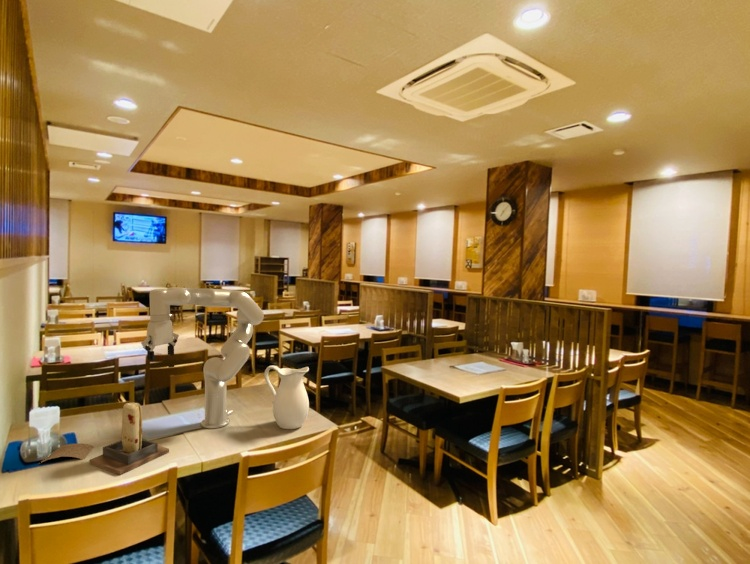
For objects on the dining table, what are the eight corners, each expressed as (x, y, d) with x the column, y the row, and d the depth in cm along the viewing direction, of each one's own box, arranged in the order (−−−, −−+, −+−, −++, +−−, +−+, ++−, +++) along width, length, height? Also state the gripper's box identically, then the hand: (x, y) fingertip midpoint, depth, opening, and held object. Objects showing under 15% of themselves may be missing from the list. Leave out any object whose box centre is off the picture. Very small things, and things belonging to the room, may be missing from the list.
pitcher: (315, 422, 198) (316, 366, 197) (294, 435, 183) (295, 374, 182) (276, 413, 208) (277, 360, 207) (253, 424, 193) (254, 367, 192)
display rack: (139, 442, 171) (139, 431, 171) (169, 452, 163) (169, 440, 163) (89, 463, 153) (89, 450, 152) (120, 475, 145) (120, 461, 145)
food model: (118, 451, 159) (118, 401, 158) (137, 446, 164) (137, 398, 163) (125, 461, 152) (125, 408, 152) (144, 455, 157) (145, 405, 156)
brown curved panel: (95, 448, 166) (95, 440, 166) (86, 460, 156) (86, 453, 156) (48, 453, 161) (48, 445, 161) (35, 467, 150) (35, 459, 150)
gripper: (171, 314, 182) (172, 352, 183) (135, 320, 166) (136, 361, 167) (183, 316, 179) (184, 354, 180) (147, 321, 163) (149, 363, 164)
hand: (161, 357), depth 173 cm, fingers open, 9 cm apart
